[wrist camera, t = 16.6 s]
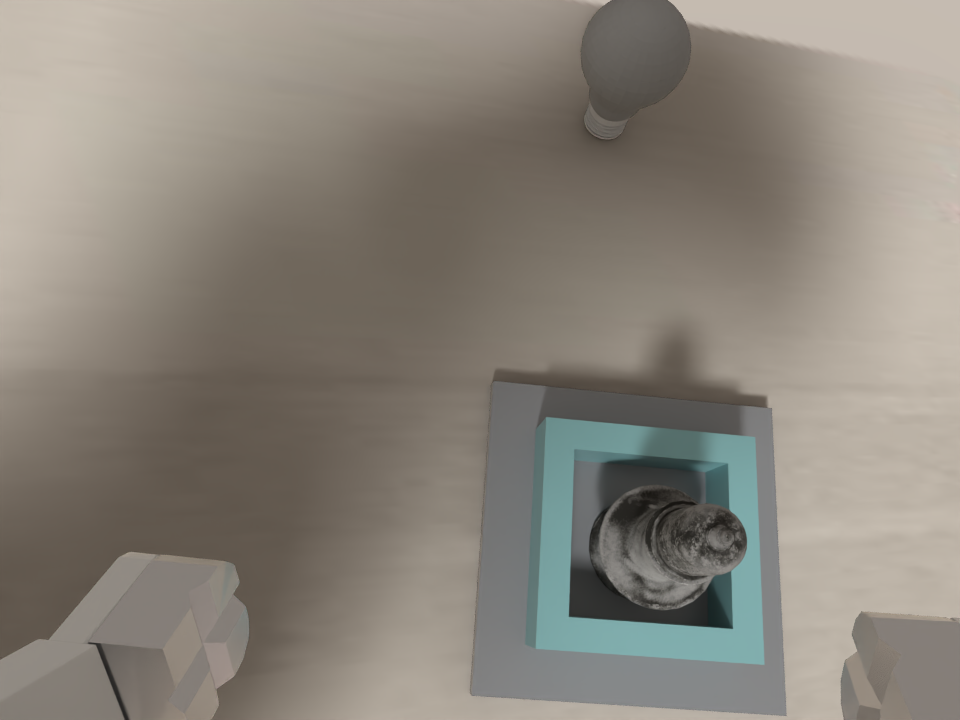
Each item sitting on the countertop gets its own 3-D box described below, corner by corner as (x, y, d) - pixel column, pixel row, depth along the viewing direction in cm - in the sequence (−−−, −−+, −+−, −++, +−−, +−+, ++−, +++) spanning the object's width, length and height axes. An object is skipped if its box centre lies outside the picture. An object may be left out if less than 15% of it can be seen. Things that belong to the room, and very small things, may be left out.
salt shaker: (682, 620, 39) (795, 638, 27) (572, 590, 38) (638, 595, 27) (701, 509, 40) (815, 481, 29) (596, 479, 40) (668, 439, 29)
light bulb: (661, 112, 49) (725, -3, 40) (625, 182, 47) (683, 79, 38) (579, 72, 49) (623, -52, 40) (541, 140, 47) (577, 26, 38)
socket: (777, 712, 39) (818, 726, 35) (469, 692, 37) (477, 704, 34) (763, 412, 44) (798, 395, 40) (491, 385, 42) (500, 365, 38)
